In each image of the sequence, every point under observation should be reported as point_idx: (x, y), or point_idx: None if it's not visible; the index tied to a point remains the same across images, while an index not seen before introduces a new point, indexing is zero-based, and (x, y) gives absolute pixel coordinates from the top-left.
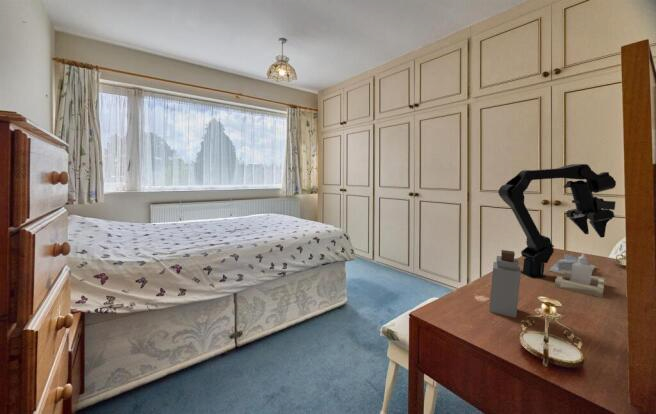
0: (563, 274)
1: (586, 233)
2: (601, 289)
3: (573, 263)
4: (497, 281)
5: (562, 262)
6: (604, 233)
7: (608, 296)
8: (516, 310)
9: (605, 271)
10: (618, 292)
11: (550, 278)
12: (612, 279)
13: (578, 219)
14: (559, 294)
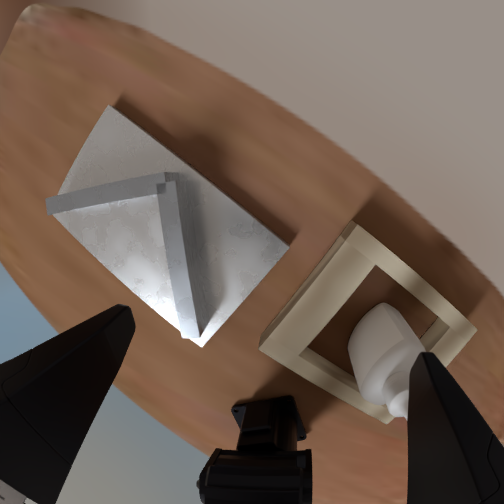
0: (329, 376)
1: (129, 325)
2: (470, 330)
3: (373, 402)
4: None
5: (193, 320)
6: (453, 385)
7: (459, 291)
8: None
9: (156, 87)
10: (427, 224)
11: (304, 387)
12: (269, 125)
13: (33, 477)
14: None
